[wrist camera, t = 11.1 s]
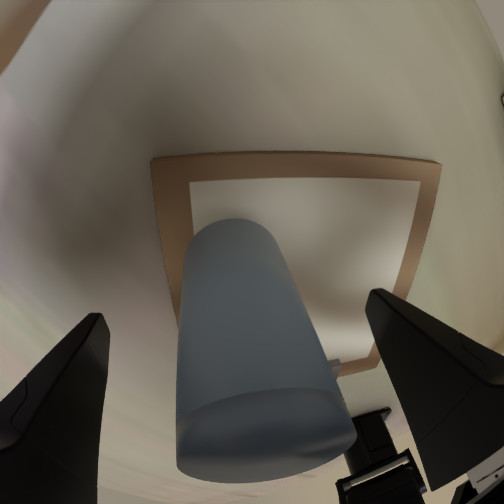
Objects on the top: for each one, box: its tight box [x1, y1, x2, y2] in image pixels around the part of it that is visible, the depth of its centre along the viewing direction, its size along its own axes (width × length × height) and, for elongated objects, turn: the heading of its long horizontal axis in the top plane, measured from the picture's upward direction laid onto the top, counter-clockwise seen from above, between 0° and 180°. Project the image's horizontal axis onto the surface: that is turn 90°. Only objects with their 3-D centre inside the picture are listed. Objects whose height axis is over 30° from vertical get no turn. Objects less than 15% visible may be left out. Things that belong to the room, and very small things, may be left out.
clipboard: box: [150, 151, 442, 379], centre depth 15 cm, size 16×14×1 cm
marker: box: [176, 218, 357, 483], centre depth 9 cm, size 4×4×9 cm
